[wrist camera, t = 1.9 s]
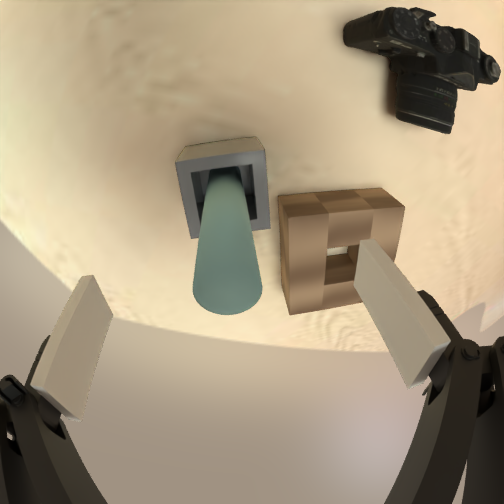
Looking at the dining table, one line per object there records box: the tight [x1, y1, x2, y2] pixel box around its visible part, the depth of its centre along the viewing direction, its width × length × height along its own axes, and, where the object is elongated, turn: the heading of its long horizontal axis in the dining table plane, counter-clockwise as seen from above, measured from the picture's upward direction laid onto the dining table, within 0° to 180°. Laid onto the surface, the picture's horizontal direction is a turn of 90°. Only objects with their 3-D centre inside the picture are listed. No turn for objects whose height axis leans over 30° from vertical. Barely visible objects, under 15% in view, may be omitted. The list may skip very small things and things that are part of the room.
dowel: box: [193, 166, 262, 315], centre depth 18 cm, size 3×3×16 cm
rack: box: [278, 188, 405, 315], centre depth 29 cm, size 12×12×5 cm
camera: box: [344, 7, 501, 134], centre depth 17 cm, size 14×11×10 cm
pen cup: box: [175, 137, 271, 239], centre depth 23 cm, size 7×7×6 cm
